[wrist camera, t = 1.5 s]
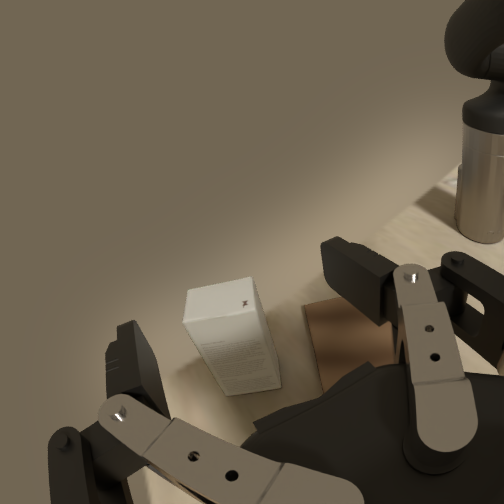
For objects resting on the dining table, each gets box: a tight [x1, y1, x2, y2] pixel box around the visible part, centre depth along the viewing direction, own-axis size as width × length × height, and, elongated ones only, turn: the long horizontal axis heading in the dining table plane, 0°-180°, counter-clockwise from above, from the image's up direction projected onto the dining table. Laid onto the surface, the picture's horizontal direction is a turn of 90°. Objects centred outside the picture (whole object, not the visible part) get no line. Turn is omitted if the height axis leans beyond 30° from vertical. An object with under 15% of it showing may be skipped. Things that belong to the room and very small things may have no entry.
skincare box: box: [182, 276, 281, 396], centre depth 29 cm, size 6×4×12 cm
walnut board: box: [304, 297, 394, 393], centre depth 30 cm, size 18×12×1 cm, turn 3°
